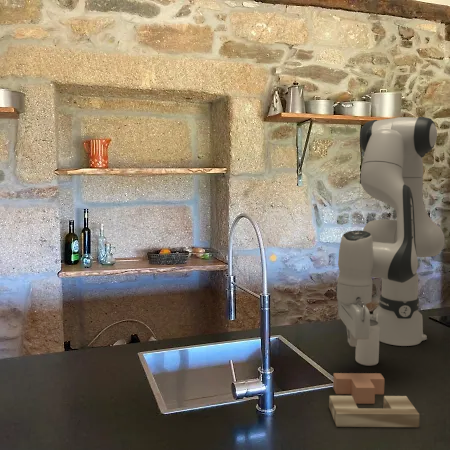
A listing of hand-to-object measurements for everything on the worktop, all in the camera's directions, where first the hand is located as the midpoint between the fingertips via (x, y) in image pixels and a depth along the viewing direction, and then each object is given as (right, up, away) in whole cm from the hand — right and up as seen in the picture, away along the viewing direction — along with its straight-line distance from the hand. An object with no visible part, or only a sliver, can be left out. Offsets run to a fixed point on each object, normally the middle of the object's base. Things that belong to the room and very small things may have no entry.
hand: (352, 344), depth 131 cm
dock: (0, -12, -18) cm, 22 cm away
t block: (0, -11, -7) cm, 13 cm away
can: (+8, -8, +13) cm, 17 cm away
